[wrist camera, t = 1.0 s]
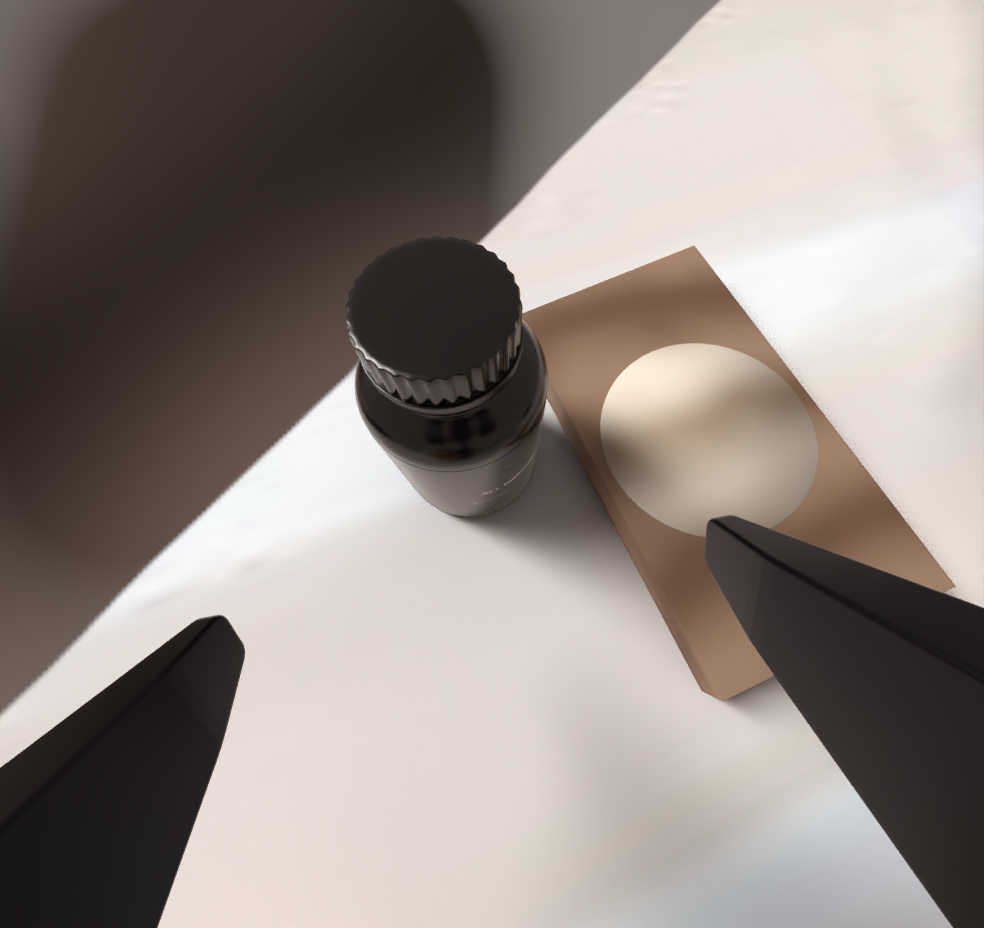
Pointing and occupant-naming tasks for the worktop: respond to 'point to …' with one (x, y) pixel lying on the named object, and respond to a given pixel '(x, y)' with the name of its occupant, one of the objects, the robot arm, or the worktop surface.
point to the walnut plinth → (706, 448)
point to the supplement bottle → (449, 372)
